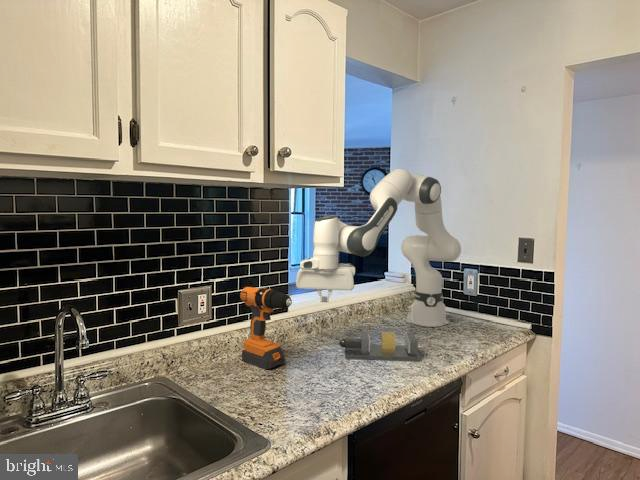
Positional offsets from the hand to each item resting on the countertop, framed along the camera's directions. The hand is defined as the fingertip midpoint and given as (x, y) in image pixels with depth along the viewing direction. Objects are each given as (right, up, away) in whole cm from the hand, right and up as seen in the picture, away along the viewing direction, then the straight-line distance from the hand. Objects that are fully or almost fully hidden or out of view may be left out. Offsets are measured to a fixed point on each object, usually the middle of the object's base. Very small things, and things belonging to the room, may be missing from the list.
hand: (324, 301), depth 155 cm
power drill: (-19, -19, -11) cm, 29 cm away
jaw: (+10, -17, +1) cm, 20 cm away
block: (+22, -17, 0) cm, 28 cm away
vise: (+20, -18, +1) cm, 27 cm away
